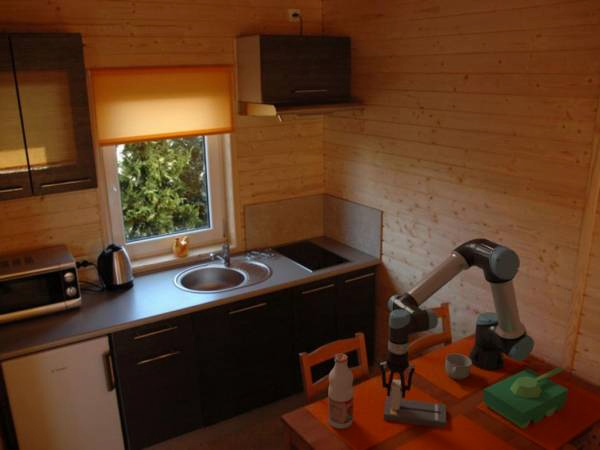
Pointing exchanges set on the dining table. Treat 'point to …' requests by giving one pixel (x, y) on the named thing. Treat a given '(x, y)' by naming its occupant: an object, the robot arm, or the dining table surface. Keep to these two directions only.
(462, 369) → the teacup
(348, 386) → the fruit juice
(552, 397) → the toy tank
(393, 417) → the panel
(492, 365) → the robot arm
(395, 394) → the block
